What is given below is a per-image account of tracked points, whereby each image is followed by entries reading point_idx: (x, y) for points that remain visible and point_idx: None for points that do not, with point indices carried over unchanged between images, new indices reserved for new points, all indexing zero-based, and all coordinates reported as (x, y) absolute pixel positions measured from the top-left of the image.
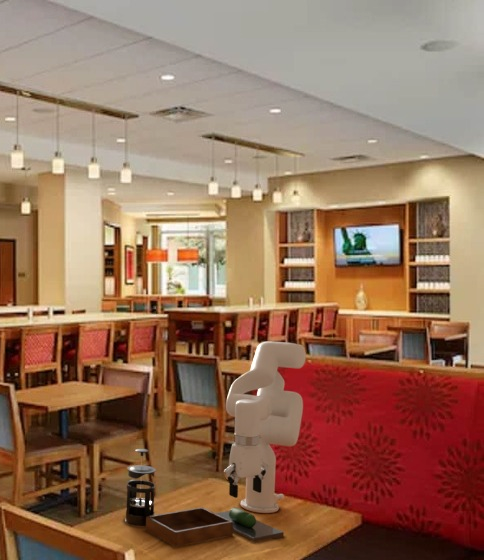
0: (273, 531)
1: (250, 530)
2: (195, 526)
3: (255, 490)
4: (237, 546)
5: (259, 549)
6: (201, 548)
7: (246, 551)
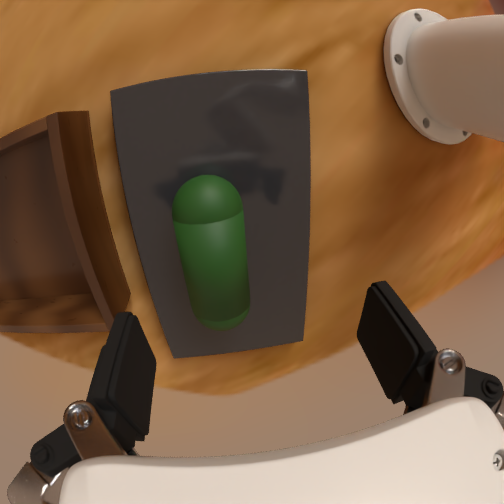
0: (276, 333)
1: None
2: (32, 187)
3: (365, 310)
4: None
5: (168, 374)
6: None
7: None
